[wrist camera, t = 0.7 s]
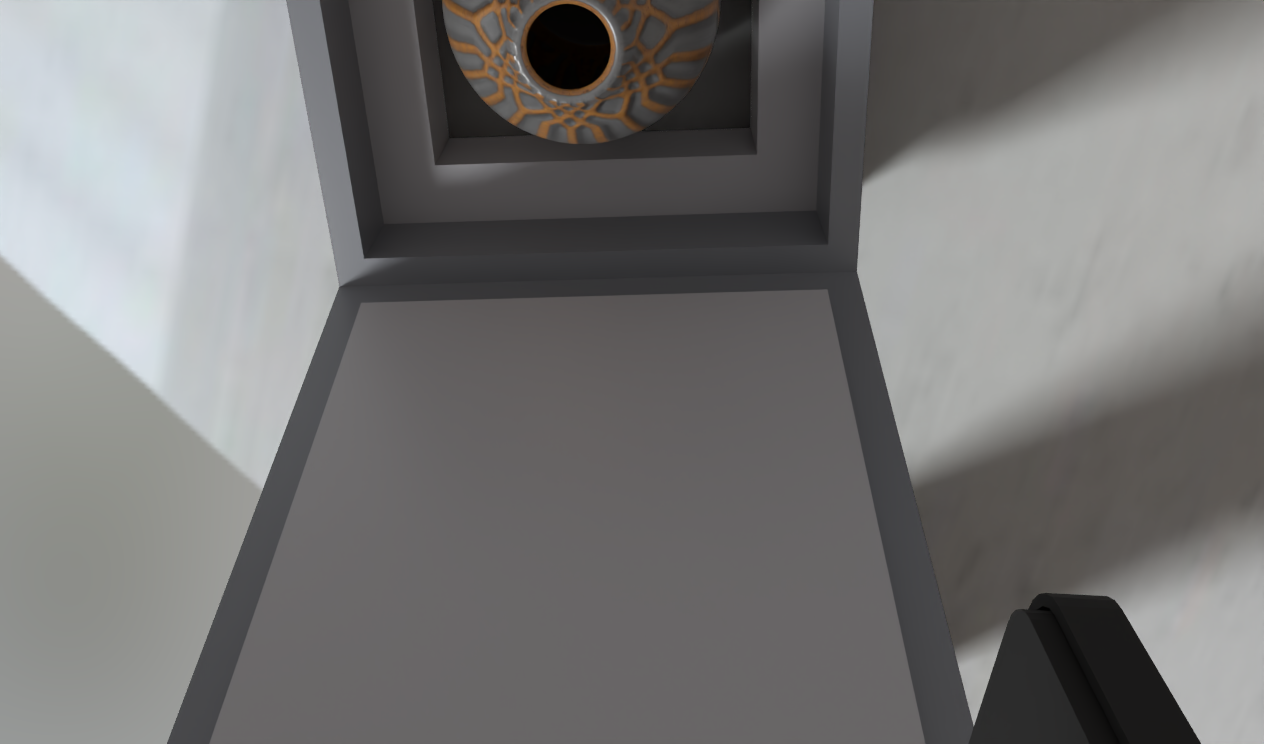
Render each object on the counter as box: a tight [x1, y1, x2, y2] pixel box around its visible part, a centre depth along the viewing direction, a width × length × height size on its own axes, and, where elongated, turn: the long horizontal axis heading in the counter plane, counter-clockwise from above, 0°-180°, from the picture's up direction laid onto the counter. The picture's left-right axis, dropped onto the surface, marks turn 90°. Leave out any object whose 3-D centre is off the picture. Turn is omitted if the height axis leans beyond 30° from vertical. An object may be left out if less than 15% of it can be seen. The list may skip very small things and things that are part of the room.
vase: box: [442, 0, 721, 144], centre depth 27 cm, size 7×7×9 cm
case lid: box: [167, 271, 974, 744], centre depth 24 cm, size 14×2×15 cm, turn 92°
